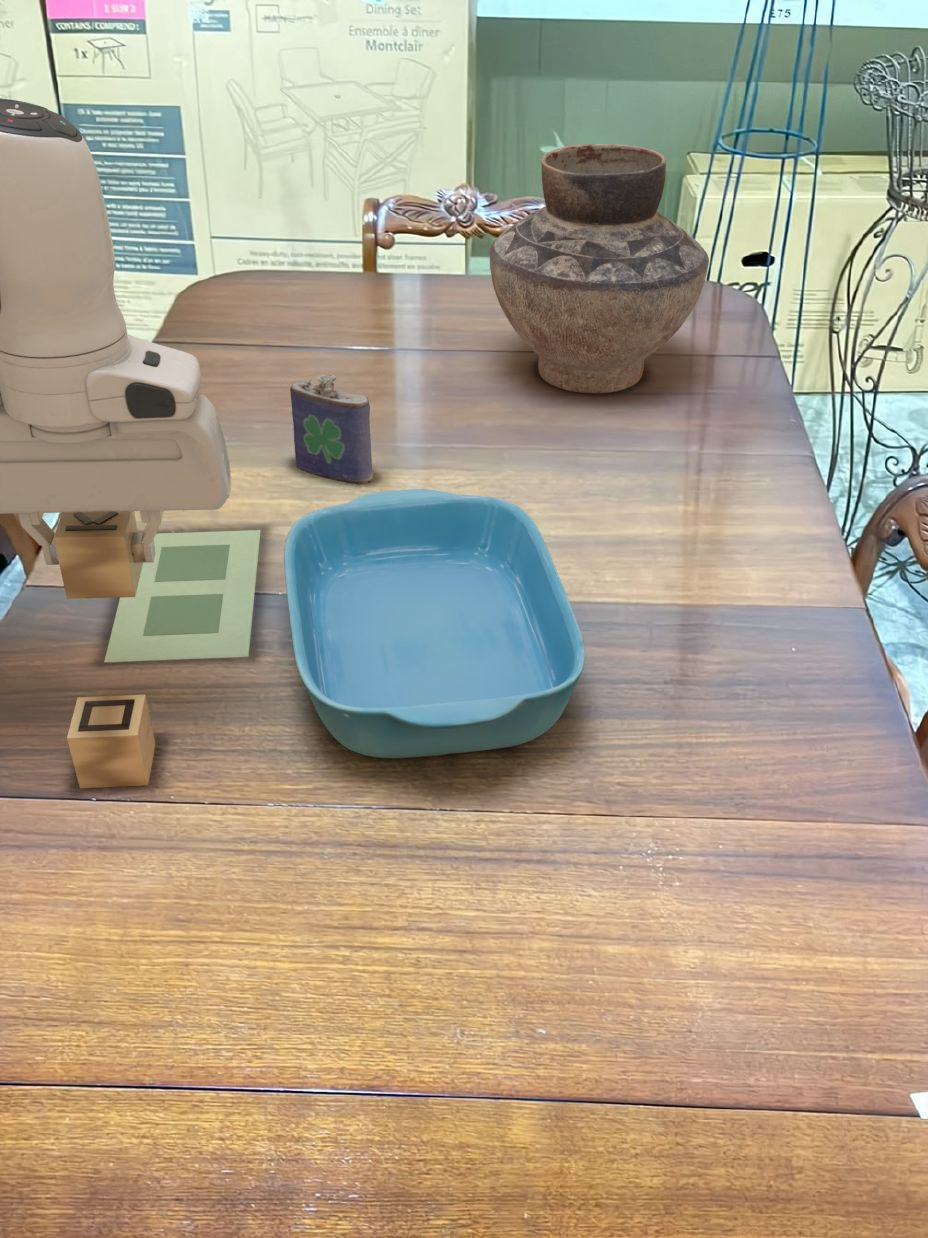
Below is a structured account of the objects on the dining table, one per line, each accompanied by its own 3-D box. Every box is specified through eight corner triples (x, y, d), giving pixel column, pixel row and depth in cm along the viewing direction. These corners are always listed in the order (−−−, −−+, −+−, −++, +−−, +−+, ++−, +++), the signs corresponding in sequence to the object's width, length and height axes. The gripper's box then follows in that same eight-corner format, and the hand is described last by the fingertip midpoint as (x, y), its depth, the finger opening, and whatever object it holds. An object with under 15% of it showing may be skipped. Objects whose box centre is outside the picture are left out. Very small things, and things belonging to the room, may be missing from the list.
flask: (378, 480, 130) (372, 378, 123) (362, 491, 129) (356, 389, 121) (304, 460, 134) (295, 361, 127) (288, 471, 132) (278, 370, 125)
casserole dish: (283, 560, 118) (276, 490, 113) (516, 543, 121) (518, 473, 116) (309, 813, 91) (300, 735, 86) (608, 783, 93) (616, 706, 89)
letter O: (80, 791, 92) (66, 736, 89) (90, 750, 96) (77, 696, 93) (149, 788, 93) (137, 733, 89) (156, 747, 96) (145, 693, 93)
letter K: (66, 599, 92) (52, 536, 89) (77, 565, 96) (64, 503, 93) (135, 597, 93) (124, 535, 89) (143, 563, 96) (132, 502, 93)
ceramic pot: (445, 377, 151) (443, 159, 135) (570, 321, 165) (582, 118, 149) (613, 436, 139) (633, 204, 123) (733, 371, 153) (765, 155, 137)
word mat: (104, 666, 105) (103, 661, 104) (136, 537, 121) (135, 533, 121) (249, 660, 105) (248, 655, 105) (261, 533, 122) (260, 529, 122)
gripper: (-105, 397, 81) (-51, 585, 90) (214, 393, 82) (235, 578, 92) (-81, 360, 86) (-31, 542, 95) (220, 357, 87) (241, 536, 96)
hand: (102, 560), depth 93 cm, fingers closed on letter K, 5 cm apart
